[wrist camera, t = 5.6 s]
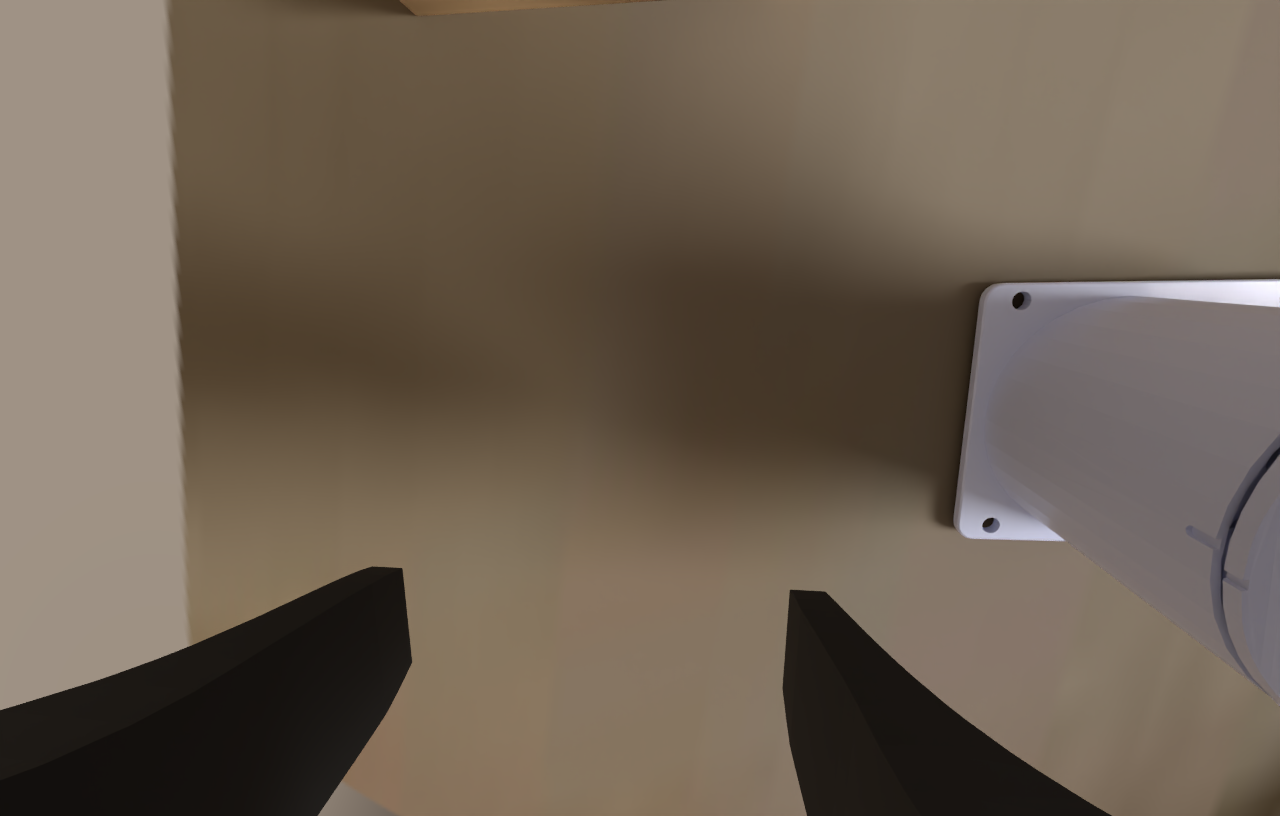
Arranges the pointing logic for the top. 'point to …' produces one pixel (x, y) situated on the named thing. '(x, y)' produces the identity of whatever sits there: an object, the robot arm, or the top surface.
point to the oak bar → (494, 5)
